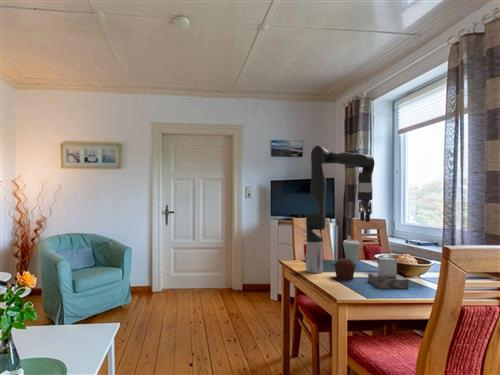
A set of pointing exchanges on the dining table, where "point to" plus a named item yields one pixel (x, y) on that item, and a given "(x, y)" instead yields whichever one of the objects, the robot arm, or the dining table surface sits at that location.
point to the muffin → (344, 269)
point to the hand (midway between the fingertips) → (364, 221)
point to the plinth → (388, 281)
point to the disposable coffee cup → (351, 250)
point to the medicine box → (387, 267)
